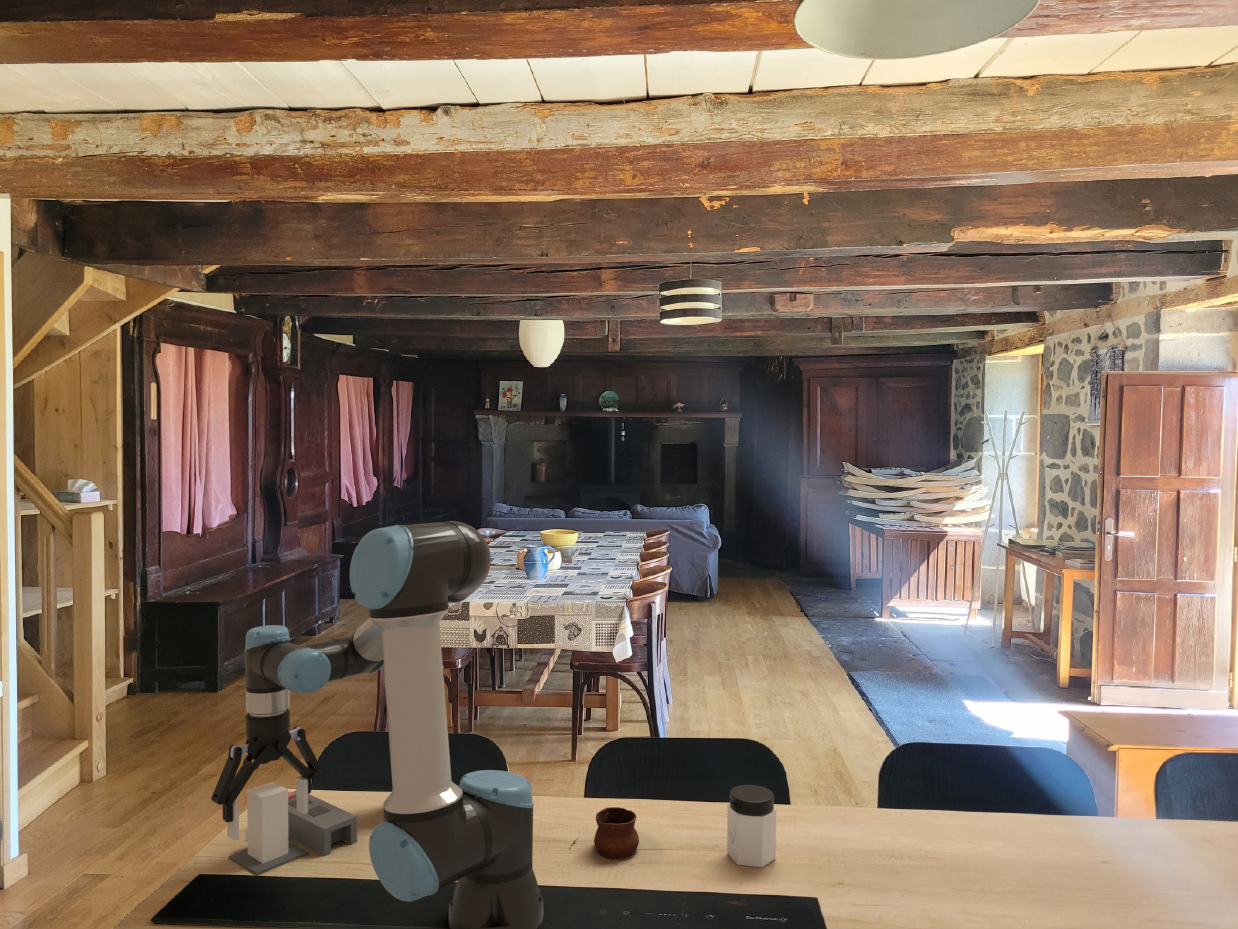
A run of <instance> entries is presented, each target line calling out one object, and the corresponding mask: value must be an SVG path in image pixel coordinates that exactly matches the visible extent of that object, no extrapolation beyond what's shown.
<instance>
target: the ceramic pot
mask: <svg viewBox="0 0 1238 929" xmlns="http://www.w3.org/2000/svg"><path fill="white" fill-rule="evenodd" d="M636 821H637V814H636V813H635V812H634V811H633V810H630V809H629V810H628V809H626V808H624V807H619V806H616V807H615V806H612V807H604V808H603V809H601V810H599V811H598V812H596V814H595V822H596V825H597V829H596V832H595V834H594V838H593V839H594V840H593V845H594V848H595V850H596V852H597V854H598V855H599V856H601V858H604V859H608V860H614V861H615V860H625V859H626V860H627V859H628V858H630V857H632V856H634V855H635V853H636V852H637V848H638V846H639V844H640V837H639V833H638V831H637V829H636V828H635V824H636ZM577 840H579V837H578V838H576V839H574V840H573V841H572V844H570V846H569V848H568V850H569V851H571V847H573V846H574V845H576V844H577Z"/></svg>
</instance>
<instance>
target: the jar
mask: <svg viewBox="0 0 1238 929" xmlns="http://www.w3.org/2000/svg"><path fill="white" fill-rule="evenodd" d="M728 798H729V803H728V804H727V813H726V814H727V818H726V819H727V820H726V821H727V822H726V823H727V825H726V826H727V830H726V831H727V834H726V835H727V836H726V840H727V841H726V853H727V855H728V856H729V857H730V858H731V859H732V861H734V863H735V864H736V865H737V866H743V867H744V866H745V867H751V868H752V867H753V868H761V869H762V868H764V867H766V866H767V865H768V864H770V863H771V862H773V861H774V860H776V858H777V857H776V854H777V853H776V852H777V851H776V850H777V847H776V846H777V809H776V808H775V803H774V802H775V795H774V792H773V791H772V790H771V789H769V788H767V787H765V786H761V785H756V784H741V785H737V786H734V787H733V788H731V790H730V792H729V797H728Z"/></svg>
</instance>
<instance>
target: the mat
mask: <svg viewBox="0 0 1238 929" xmlns="http://www.w3.org/2000/svg"><path fill="white" fill-rule="evenodd" d="M307 855H309V851H308V850H306V849H304V848H302V847H300V846H299V845H296V844H294V843H293V842H291V841H289V840H288V854H285V855H283V856H280V857H278V858H275V859H273V860H270V861H268V862H265V863H261V862H260V861H258V860H256V859H255V858H253V857H252V856H250V855H248V848H245V849H243V850H241V851H238V852H235V853H233V854H231V855H228V858H229V859H230V860H231V861H233V862H235V863H237V865H240V866H241V867H243V868H244V869H246V870H248V871H249V872H251V873H253V874H254V875H256V876H259V875H261V874H262V875H263V874H265V873H266V872H268V871H271V870H273V869H276V868H278V867H280V866H283V865H286V864H287V863H290V862H293V861H295V860H297V859H300V858H302V857H304V856H307Z"/></svg>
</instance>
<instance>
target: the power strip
mask: <svg viewBox="0 0 1238 929" xmlns="http://www.w3.org/2000/svg"><path fill="white" fill-rule="evenodd" d="M288 838H290V839H292V840H295V841H296V842H298V843H300V844H302V845H304V846H305V847H308V848H309V849H311V850H313V851H315V852H317V853H319V854H320V855H321V856H322V855H323V856H324V857H325V856H328V855H330V854H331V853H332V850H331V849H332V845H334V844H335V843H339V842H340V841H343V842H345V843H347V844H349V845H353V844H356V843H357V842H358V816H357V815H355V814H353V813H351V812H348V811H346V810H345V809H342V808H340V807H338V806H336V805H334V804H331V803H330V802H327V801H325V800H323V799H321V798H318V797H316V796H314V795H312V794H311V793H310V794H308V813H307V814H305V815H304V814H302V813H300V812H298V811H297V794H296V790H295V791H288Z"/></svg>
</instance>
